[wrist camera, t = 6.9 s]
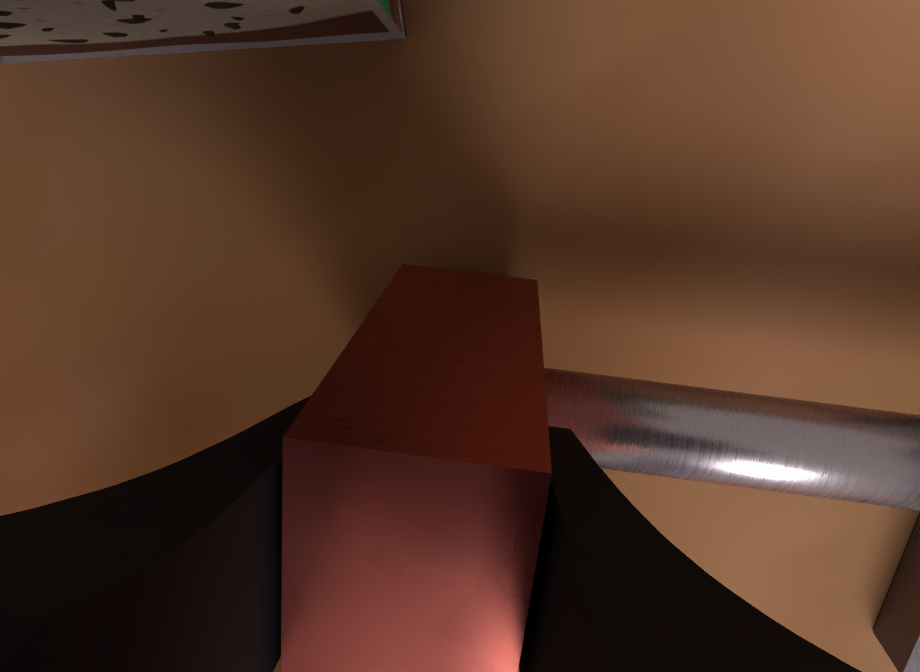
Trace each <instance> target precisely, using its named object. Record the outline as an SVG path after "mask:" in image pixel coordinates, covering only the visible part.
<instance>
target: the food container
mask: <svg viewBox="0 0 920 672" xmlns="http://www.w3.org/2000/svg"><path fill="white" fill-rule="evenodd" d="M397 39H407V34H406V27H405V21H404V14H403V7H402V1H401V0H0V63H18V62H35V61H51V60H68V59H84V58H101V57H117V56H134V55H150V54H167V53H183V52H199V51H216V50H232V49H249V48H265V47H282V46H298V45H315V44H331V43H348V42H364V41H381V40H397Z"/></svg>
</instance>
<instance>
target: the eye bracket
mask: <svg viewBox="0 0 920 672" xmlns="http://www.w3.org/2000/svg"><path fill="white" fill-rule="evenodd" d="M873 633H874V634H875V636H876V638H877V639H878V641H879V642H880V644H881V645H882V647H883V648H884V650H885V651H886V653H887V655H888V656H889V658H890V659H891V661H892V662H893V664H894V665H895V667H896V668H897V670H898V671H899V672H920V516H919V518H918V521H917V523H916V526H915V528H914V531H913V533H912V536H911V538H910V541H909V543H908V545H907V548H906V550H905V553H904V555H903V558H902V560H901V563H900V565H899V568H898V570H897V573H896V575H895V578H894V580H893V583H892V585H891V587H890V590H889V592H888V595H887V597H886V600H885V602H884V605H883V607H882V610H881V612H880V615H879V617H878V620H877V622H876V625H875V627H874V629H873Z"/></svg>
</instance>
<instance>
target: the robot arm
mask: <svg viewBox="0 0 920 672" xmlns="http://www.w3.org/2000/svg"><path fill="white" fill-rule="evenodd" d="M310 397H311V396H310ZM310 397H308V398H305V399H303V400H301V401H299V402H297V403H295V404H293V405H291V406H289V407H288V408H286V409H284V410H282V411H280V412H278V413H276V414H274V415H273V416H271V417H269V418H267V419H265V420H263V421H261V422H259V423H257V424H255V425H254V426H252V427H250V428H248V429H246V430H244V431H242V432H240V433H238V434H236V435H234V436H232V437H230V438H228V439H226V440H224V441H222V442H220V443H217V444H215V445H213V446H211V447H209V448H207V449H205V450H202V451H200V452H198V453H196V454H194V455H192V456H189V457H187V458H185V459H183V460H181V461H178V462H176V463H174V464H171V465H169V466H166V467H164V468H161V469H159V470H156V471H153V472H151V473H148V474H145V475H143V476H140V477H137V478H134V479H131V480H128V481H126V482H123V483H120V484H117V485H114V486H111V487H108V488H105V489H102V490H98V491H94V492H91V493H87V494H84V495H80V496H77V497H73V498H69V499H66V500H62V501H59V502H55V503H51V504H48V505H44V506H41V507H37V508H33V509H29V510H25V511H21V512H16V513H12V514H7V515H3V516H0V672H273V671H274V668H275V666H276V664H277V662H278V660H279V658H280V656H281V603H282V471H283V436H284V435H285V433H286V432H287V431H288V429H289V428H290V426H291V425H292V423H293V422H294V420H295V419H296V418H297V416H298V415H299V413H300V412H301V410H302V409H303V407H304V406H305V405H306V403H307V402H308V400H309V399H310ZM548 430H549V443H550V456H551V469H552V475H551V481H550V487H549V493H548V498H547V504H546V510H545V516H544V522H543V528H542V534H541V539H540V545H539V551H538V557H537V563H536V569H535V575H534V580H533V586H532V592H531V598H530V604H529V610H528V615H527V621H526V627H525V633H524V639H523V645H522V651H521V656H520V662H519V669H520V672H861V671H859V670H857V669H856V668H854V667H852V666H850V665H848V664H846V663H845V662H843V661H841V660H839V659H838V658H836V657H834V656H833V655H831V654H829V653H827V652H826V651H824V650H822V649H820V648H819V647H817V646H815V645H814V644H812V643H810V642H808V641H807V640H805V639H803V638H802V637H800V636H798V635H796V634H795V633H793V632H792V631H790V630H789V629H787V628H785V627H784V626H782V625H781V624H779V623H777V622H776V621H774V620H773V619H771V618H770V617H768V616H766V615H765V614H763V613H762V612H761V611H759V610H758V609H756V608H755V607H753V606H752V605H751V604H749V603H748V602H746V601H745V600H743V599H742V598H741V597H739V596H738V595H736V594H735V593H733V592H732V591H730V590H729V589H728V588H726V587H725V586H724V585H722V584H721V583H720V582H718V581H717V580H716V579H714V578H713V577H712V576H710V575H709V574H708V573H706V572H705V571H704V570H703V569H702V568H700V567H699V566H698V565H697V564H696V563H694V562H693V561H692V560H691V559H690V558H688V557H687V556H686V555H685V554H684V553H682V552H681V551H680V550H679V549H678V548H677V547H675V546H674V545H673V544H672V543H671V542H670V541H669V540H668V539H666V538H665V537H664V536H663V535H662V534H661V533H660V532H659V531H658V530H657V529H656V528H655V527H654V526H653V525H652V524H651V523H650V522H649V521H648V520H647V519H646V518H645V517H644V516H643V515H642V514H641V513H640V512H639V511H638V510H637V509H636V508H635V507H634V506H633V505H632V504H631V503H630V501H629V500H628V499H627V498H626V497H625V496H624V495H623V494H622V493H621V492H620V490H619V489H618V488H617V487H616V486H615V485H614V483H613V482H612V481H611V480H610V479H609V478H608V476H607V475H606V474H605V473H604V471H603V470H602V469H601V468H600V467H599V465H598V464H597V463H596V461H595V460H594V459H593V458H592V456H591V455H590V454H589V452H588V451H587V450H586V448H585V447H584V446H583V444H582V443H581V442H580V440H579V439H578V438H577V437H576V435H575V434H574V433H573V431H572V430H571V429H568V428H560V427H553V426H548Z"/></svg>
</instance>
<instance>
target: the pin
mask: <svg viewBox="0 0 920 672" xmlns="http://www.w3.org/2000/svg"><path fill="white" fill-rule="evenodd" d="M548 426H553V427H560V428H568V429H571V430H572V431H573V433H574V434H575V435H576V437H577V438H578V439H579V440H580V442H581V443H582V444H583V446H584V447H585V448H586V450H587V451H588V452H589V454H590V455H591V456H592V458H593V459H594V460H595V461H596V463H597V464H598V465H599V467H600V468H602V469H609V470H617V471H624V472H632V473H639V474H647V475H654V476H662V477H669V478H677V479H684V480H692V481H699V482H707V483H714V484H722V485H729V486H737V487H744V488H752V489H760V490H767V491H775V492H782V493H790V494H797V495H805V496H812V497H820V498H827V499H835V500H842V501H850V502H857V503H865V504H872V505H880V506H887V507H895V508H902V509H910V510H918V511H920V415H915V414H907V413H899V412H891V411H883V410H876V409H868V408H860V407H852V406H844V405H836V404H828V403H820V402H812V401H804V400H796V399H788V398H780V397H773V396H765V395H757V394H749V393H741V392H733V391H725V390H717V389H709V388H701V387H693V386H685V385H677V384H669V383H662V382H654V381H646V380H638V379H630V378H622V377H614V376H606V375H598V374H590V373H582V372H574V371H566V370H559V369H551V368H544V364H543V350H542V337H541V324H540V311H539V298H538V284H537V280H531V279H523V278H515V277H506V276H498V275H490V274H481V273H473V272H465V271H456V270H448V269H440V268H431V267H423V266H415V265H406V264H403V265H402V267H401V268H400V269H399V271H398V272H397V274H396V275H395V277H394V278H393V279H392V281H391V282H390V284H389V285H388V287H387V288H386V290H385V291H384V292H383V294H382V295H381V297H380V298H379V300H378V301H377V302H376V304H375V305H374V307H373V308H372V310H371V311H370V313H369V314H368V315H367V317H366V318H365V320H364V321H363V323H362V324H361V326H360V327H359V328H358V330H357V331H356V333H355V334H354V336H353V337H352V338H351V340H350V341H349V343H348V344H347V346H346V347H345V349H344V350H343V351H342V353H341V354H340V356H339V357H338V359H337V360H336V361H335V363H334V364H333V366H332V367H331V369H330V370H329V372H328V373H327V374H326V376H325V377H324V379H323V380H322V382H321V383H320V384H319V386H318V387H317V389H316V390H315V392H314V393H313V395H312V396H311V397H310V399H309V400H308V402H307V403H306V405H305V406H304V407H303V409H302V410H301V412H300V413H299V415H298V416H297V418H296V419H295V420H294V422H293V423H292V425H291V426H290V428H289V429H288V431H287V432H286V433H285V435H284V436H283V471H282V603H281V672H518V668H519V662H520V656H521V651H522V645H523V639H524V633H525V627H526V621H527V615H528V610H529V604H530V598H531V592H532V586H533V580H534V575H535V569H536V563H537V557H538V551H539V545H540V539H541V534H542V528H543V522H544V516H545V510H546V504H547V498H548V493H549V487H550V481H551V475H552V469H551V456H550V443H549V430H548Z"/></svg>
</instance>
